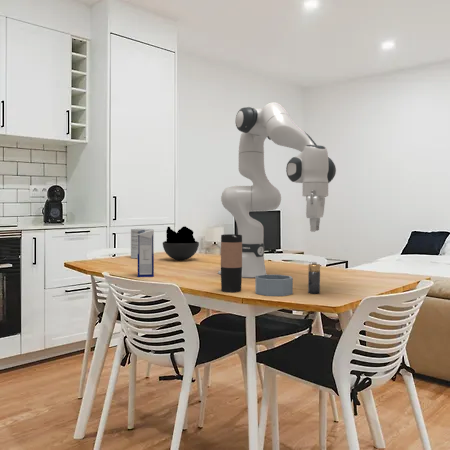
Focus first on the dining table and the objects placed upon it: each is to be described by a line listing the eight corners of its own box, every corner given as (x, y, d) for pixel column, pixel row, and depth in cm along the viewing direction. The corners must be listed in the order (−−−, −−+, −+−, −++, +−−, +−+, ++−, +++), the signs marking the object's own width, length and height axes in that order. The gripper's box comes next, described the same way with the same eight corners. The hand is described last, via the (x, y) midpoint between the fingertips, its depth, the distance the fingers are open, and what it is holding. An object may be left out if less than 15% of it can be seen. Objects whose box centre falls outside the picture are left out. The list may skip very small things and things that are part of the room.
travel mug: (224, 288, 182) (224, 234, 181) (244, 289, 179) (244, 234, 179) (217, 291, 174) (218, 235, 173) (238, 293, 172) (239, 235, 171)
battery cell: (305, 292, 173) (306, 262, 173) (312, 291, 176) (313, 261, 175) (315, 294, 170) (315, 263, 170) (322, 293, 173) (322, 262, 173)
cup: (248, 292, 173) (248, 276, 173) (271, 288, 182) (271, 273, 182) (276, 297, 164) (276, 280, 164) (299, 292, 173) (299, 277, 173)
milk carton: (153, 276, 210) (153, 229, 209) (137, 277, 208) (137, 229, 208) (153, 274, 217) (153, 229, 216) (137, 274, 215) (137, 229, 215)
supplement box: (142, 259, 277) (142, 229, 276) (130, 258, 282) (130, 228, 281) (153, 257, 285) (153, 228, 284) (141, 256, 290) (141, 228, 289)
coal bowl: (203, 259, 280) (203, 225, 279) (192, 263, 260) (193, 227, 260) (169, 258, 284) (169, 225, 284) (157, 261, 265) (157, 226, 264)
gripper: (321, 190, 161) (320, 232, 161) (327, 192, 180) (326, 230, 181) (301, 190, 163) (301, 232, 163) (309, 192, 182) (309, 229, 183)
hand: (314, 231), depth 172 cm, fingers open, 8 cm apart
